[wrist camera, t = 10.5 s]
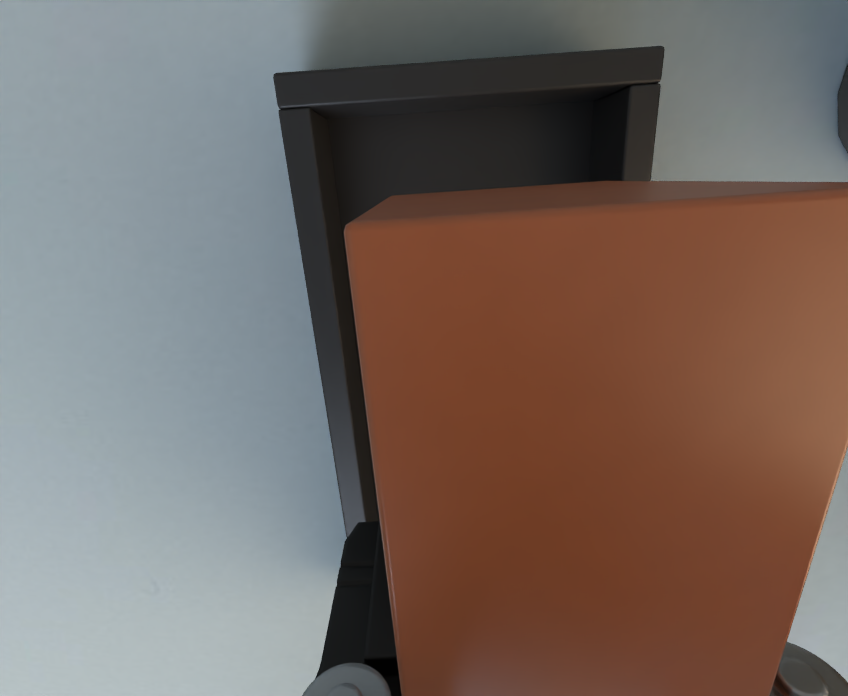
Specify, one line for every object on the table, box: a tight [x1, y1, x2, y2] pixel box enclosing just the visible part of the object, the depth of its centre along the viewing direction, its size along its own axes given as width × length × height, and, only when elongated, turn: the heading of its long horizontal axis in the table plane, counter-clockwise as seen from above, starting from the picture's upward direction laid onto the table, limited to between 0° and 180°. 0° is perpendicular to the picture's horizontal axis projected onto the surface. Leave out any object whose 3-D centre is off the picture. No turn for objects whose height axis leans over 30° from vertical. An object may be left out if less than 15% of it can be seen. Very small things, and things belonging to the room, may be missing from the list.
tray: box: [273, 46, 664, 538], centre depth 16 cm, size 20×10×3 cm, turn 4°
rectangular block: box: [344, 181, 848, 696], centre depth 8 cm, size 14×4×6 cm, turn 4°
